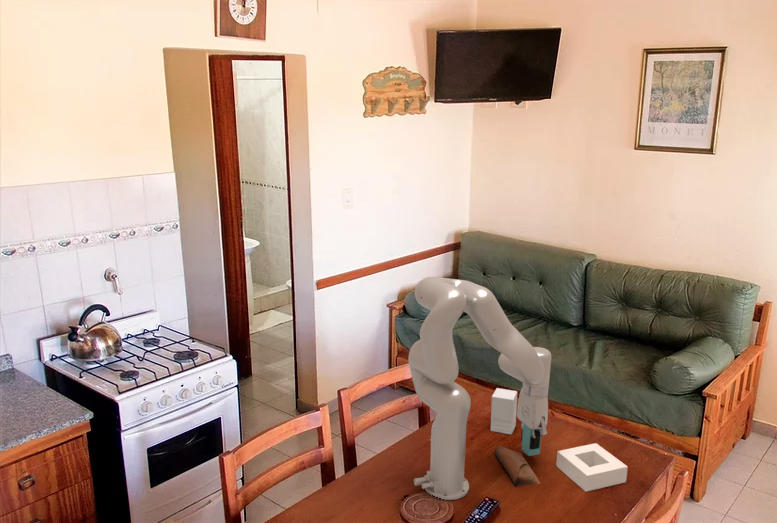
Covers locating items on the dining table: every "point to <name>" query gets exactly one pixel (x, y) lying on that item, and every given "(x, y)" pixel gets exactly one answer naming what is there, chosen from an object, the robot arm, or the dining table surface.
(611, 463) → the well block
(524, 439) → the teal post
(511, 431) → the supplement box
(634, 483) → the dining table surface
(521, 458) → the sunglasses case
